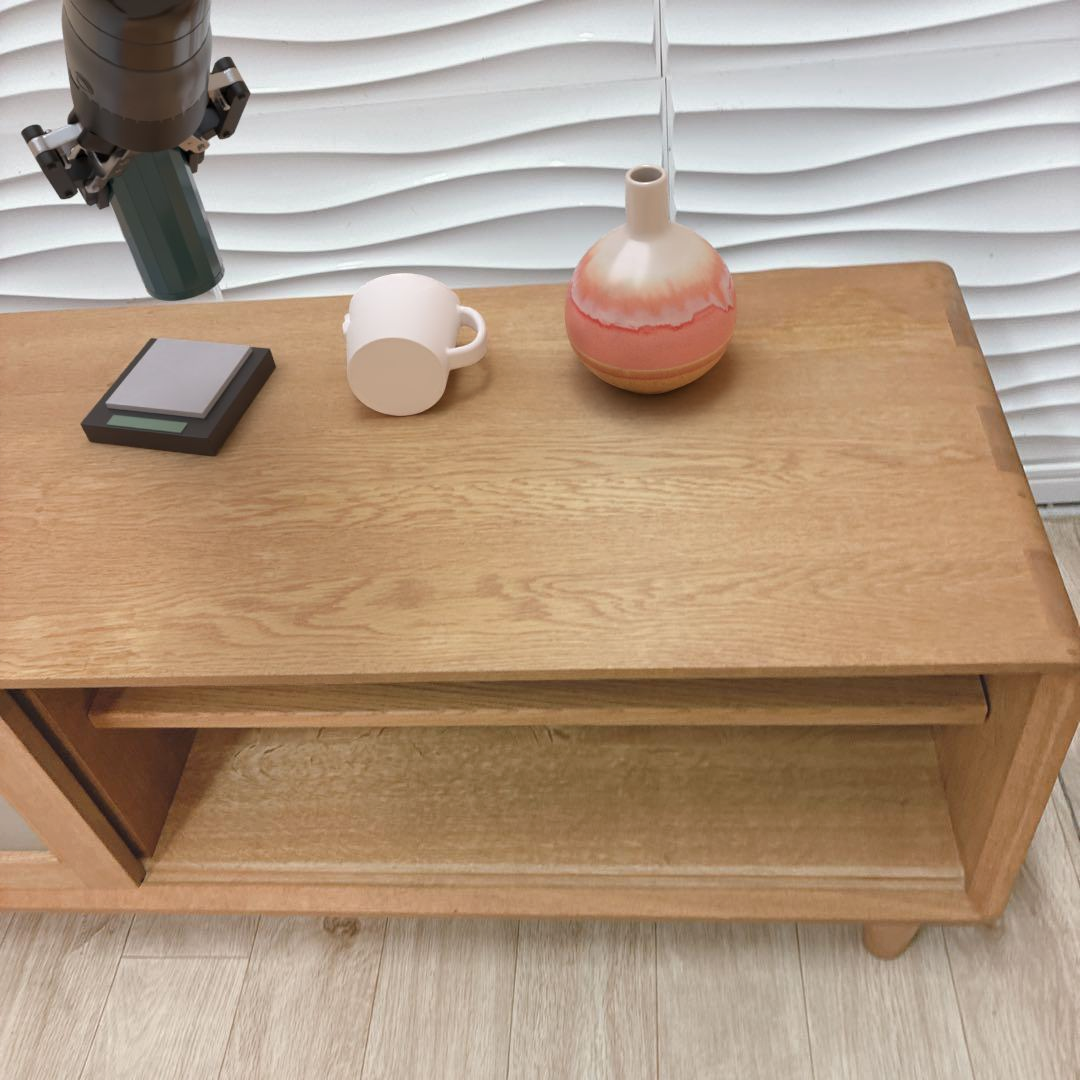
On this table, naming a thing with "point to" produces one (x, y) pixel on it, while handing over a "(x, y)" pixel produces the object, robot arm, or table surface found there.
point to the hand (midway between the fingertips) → (141, 178)
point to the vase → (650, 296)
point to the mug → (407, 342)
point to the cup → (166, 226)
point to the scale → (180, 396)
